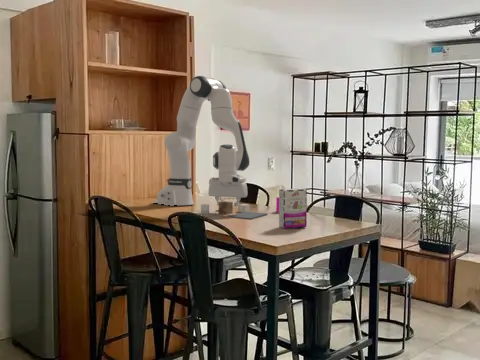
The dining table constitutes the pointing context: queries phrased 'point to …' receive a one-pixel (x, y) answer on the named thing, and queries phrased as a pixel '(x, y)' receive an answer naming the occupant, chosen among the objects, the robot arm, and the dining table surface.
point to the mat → (248, 215)
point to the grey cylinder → (204, 209)
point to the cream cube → (244, 208)
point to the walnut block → (225, 207)
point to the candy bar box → (292, 208)
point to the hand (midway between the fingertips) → (227, 205)
